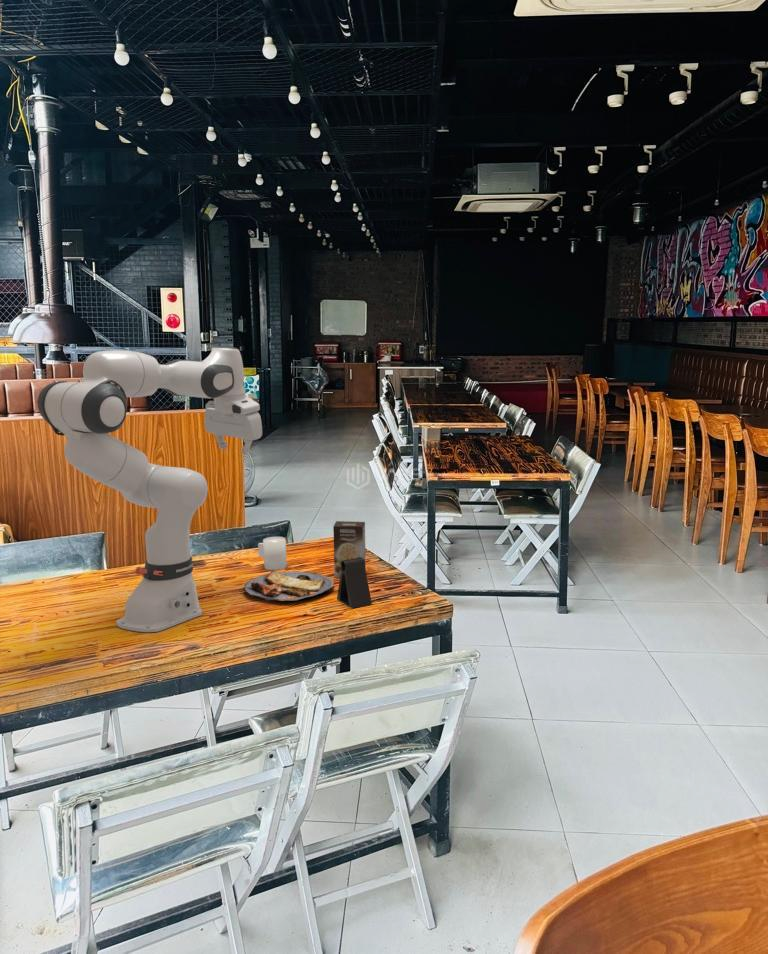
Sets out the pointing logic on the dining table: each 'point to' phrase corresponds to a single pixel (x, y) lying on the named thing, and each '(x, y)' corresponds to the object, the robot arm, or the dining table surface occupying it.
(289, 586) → the food plate
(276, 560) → the white ceramic cup
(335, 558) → the coffee box
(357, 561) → the door stopper
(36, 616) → the dining table surface
